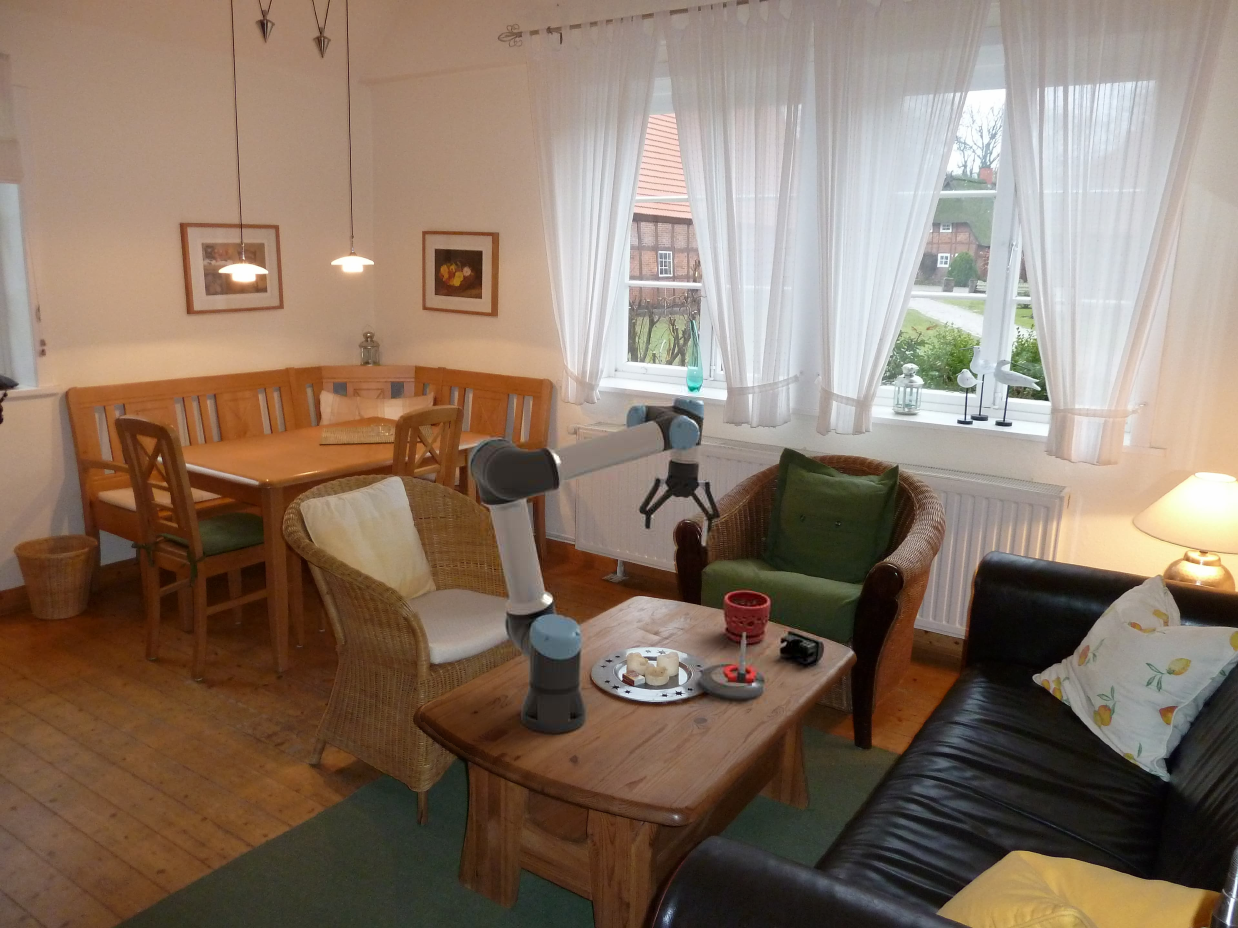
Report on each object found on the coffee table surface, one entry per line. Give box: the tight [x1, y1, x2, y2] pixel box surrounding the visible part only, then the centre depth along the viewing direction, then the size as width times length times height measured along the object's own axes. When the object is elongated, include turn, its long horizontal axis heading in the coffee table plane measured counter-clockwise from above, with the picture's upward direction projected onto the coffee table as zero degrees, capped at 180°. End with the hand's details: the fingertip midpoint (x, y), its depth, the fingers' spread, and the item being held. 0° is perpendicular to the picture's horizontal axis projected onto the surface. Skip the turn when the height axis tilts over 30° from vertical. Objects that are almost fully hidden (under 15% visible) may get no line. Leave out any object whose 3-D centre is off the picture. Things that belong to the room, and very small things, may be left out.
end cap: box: [779, 630, 825, 669], centre depth 263 cm, size 10×7×7 cm
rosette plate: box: [700, 663, 766, 702], centre depth 245 cm, size 16×16×3 cm
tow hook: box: [723, 632, 757, 683], centre depth 244 cm, size 8×13×9 cm
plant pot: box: [723, 590, 771, 644], centre depth 276 cm, size 13×13×12 cm
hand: (676, 543), depth 244 cm, fingers open, 13 cm apart
